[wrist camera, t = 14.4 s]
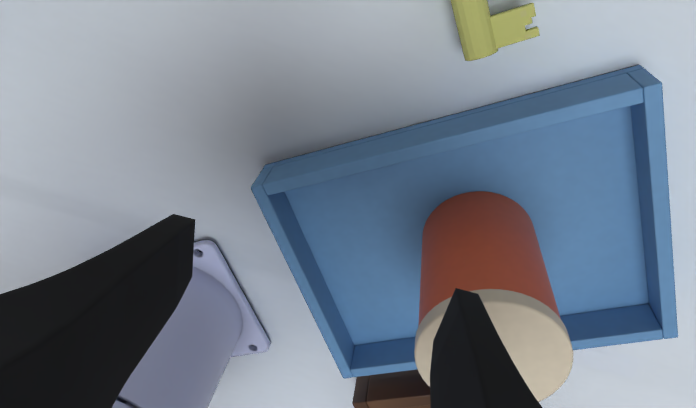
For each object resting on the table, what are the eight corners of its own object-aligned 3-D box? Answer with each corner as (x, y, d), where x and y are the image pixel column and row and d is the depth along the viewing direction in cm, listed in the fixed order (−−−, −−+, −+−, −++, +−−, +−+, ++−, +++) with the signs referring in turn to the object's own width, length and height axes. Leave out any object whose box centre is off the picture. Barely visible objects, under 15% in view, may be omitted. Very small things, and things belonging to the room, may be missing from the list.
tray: (349, 347, 30) (343, 379, 28) (264, 164, 24) (249, 187, 22) (659, 303, 25) (678, 337, 23) (640, 63, 20) (662, 82, 18)
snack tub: (439, 292, 26) (440, 420, 20) (404, 207, 24) (392, 320, 17) (548, 269, 24) (587, 400, 18) (521, 174, 22) (555, 286, 16)
